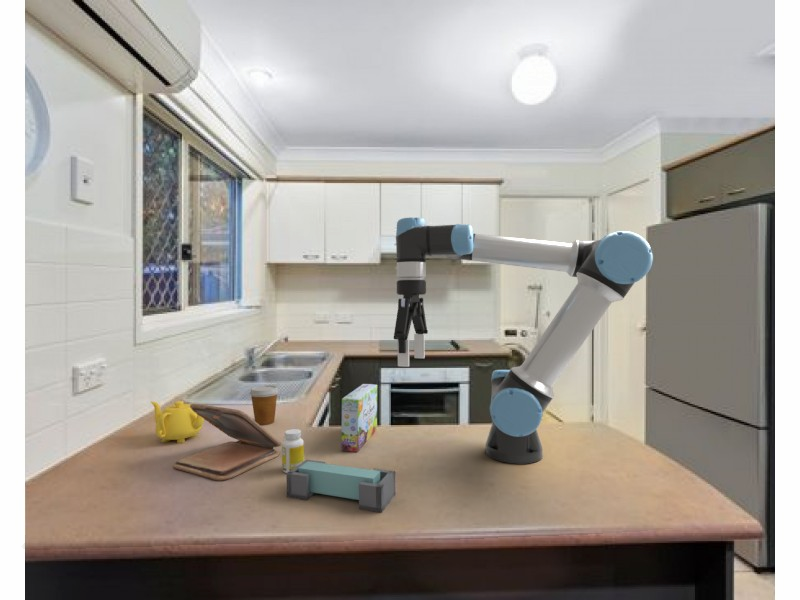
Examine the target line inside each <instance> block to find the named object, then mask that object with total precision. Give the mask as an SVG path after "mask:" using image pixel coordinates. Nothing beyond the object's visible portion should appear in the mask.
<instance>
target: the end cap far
mask: <svg viewBox="0 0 800 600" xmlns="http://www.w3.org/2000/svg"><path fill="white" fill-rule="evenodd" d="M308 461H309V462H316V463H324V464H326V461H321V460H313V459H304V462H302V463H301V464H299V465H298V466H296V467H295V468H293V469H292V470H291V471H289V472H288V473H285V474H286V476H285V477H286V497H287V498H290V499H291V498H293V499H298V500H304V501H308V500H309V499H310V498H311V497H312V496H314V494H315V493H313V492H309V474H305V473H299V467H301V466H302V465H303V464H305V463H306V462H308Z"/></svg>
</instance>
